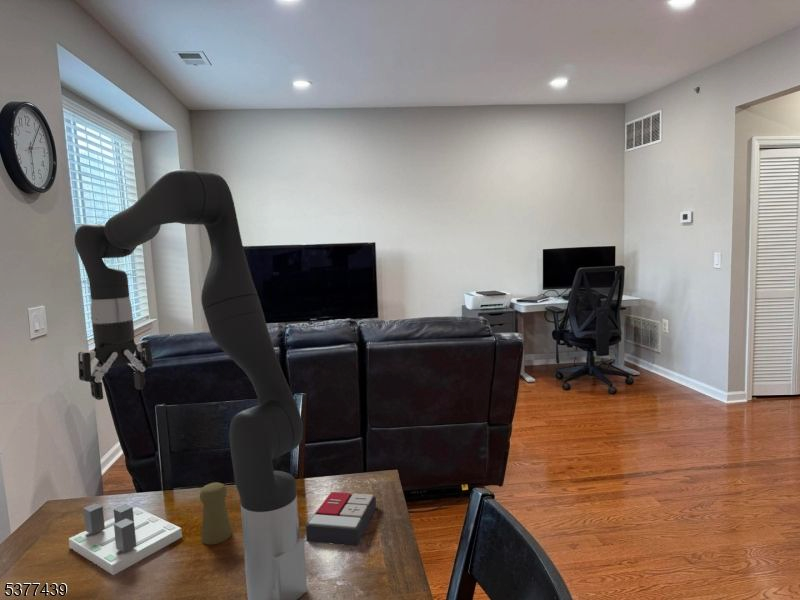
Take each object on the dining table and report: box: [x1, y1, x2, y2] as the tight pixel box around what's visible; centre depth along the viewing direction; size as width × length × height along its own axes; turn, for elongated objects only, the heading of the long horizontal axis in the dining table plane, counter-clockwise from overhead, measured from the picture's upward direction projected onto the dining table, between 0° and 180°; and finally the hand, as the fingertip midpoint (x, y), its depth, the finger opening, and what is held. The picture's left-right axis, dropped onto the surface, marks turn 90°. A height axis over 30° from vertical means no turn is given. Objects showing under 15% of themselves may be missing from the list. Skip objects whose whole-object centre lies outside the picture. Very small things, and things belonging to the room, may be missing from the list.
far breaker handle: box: [82, 502, 105, 535], centre depth 103 cm, size 3×2×5 cm
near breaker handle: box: [114, 518, 136, 553], centre depth 96 cm, size 3×2×5 cm
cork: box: [199, 482, 233, 545], centre depth 103 cm, size 6×6×11 cm
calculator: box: [305, 491, 377, 547], centre depth 107 cm, size 11×4×15 cm
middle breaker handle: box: [113, 503, 135, 527], centre depth 102 cm, size 3×2×5 cm
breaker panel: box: [68, 506, 183, 576], centre depth 102 cm, size 17×14×2 cm
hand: (120, 393), depth 107 cm, fingers open, 8 cm apart
